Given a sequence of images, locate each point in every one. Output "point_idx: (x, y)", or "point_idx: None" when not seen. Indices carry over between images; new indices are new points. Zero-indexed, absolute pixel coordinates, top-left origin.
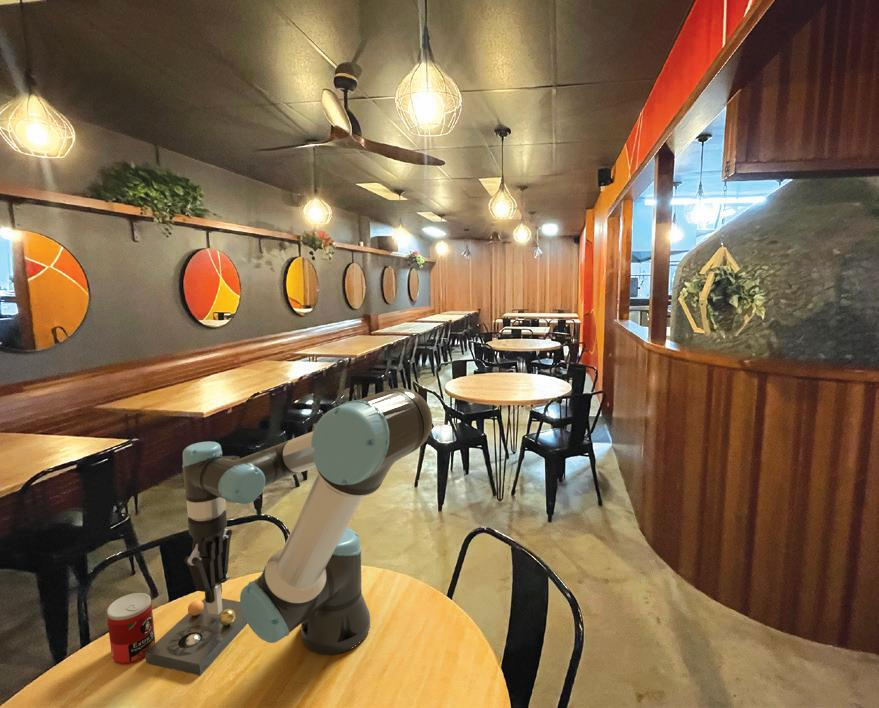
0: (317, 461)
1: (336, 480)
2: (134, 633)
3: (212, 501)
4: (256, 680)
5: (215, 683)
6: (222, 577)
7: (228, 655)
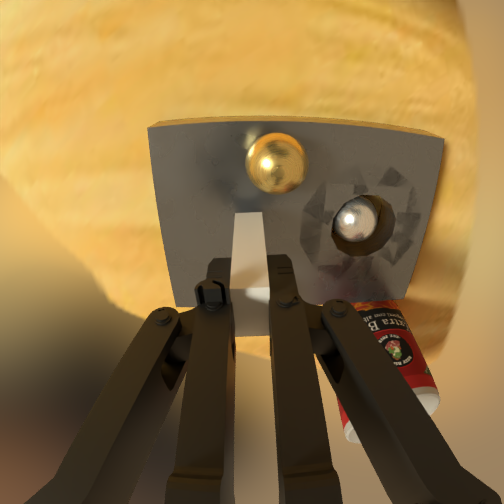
0: None
1: None
2: (418, 350)
3: None
4: None
5: (438, 79)
6: (200, 308)
7: (353, 91)
